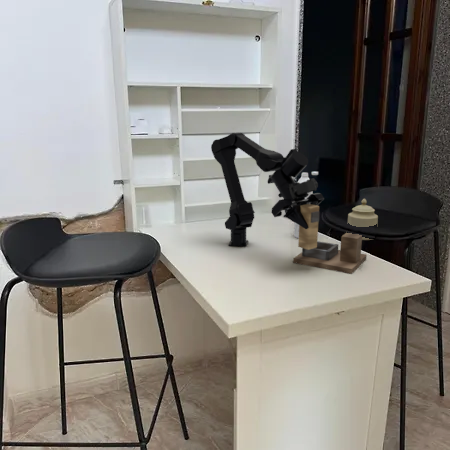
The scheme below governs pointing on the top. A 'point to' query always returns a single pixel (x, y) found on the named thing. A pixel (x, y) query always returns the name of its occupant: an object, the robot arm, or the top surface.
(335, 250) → the wooden fixture board
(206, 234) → the top surface
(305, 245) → the beige block
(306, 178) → the water bottle
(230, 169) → the robot arm
